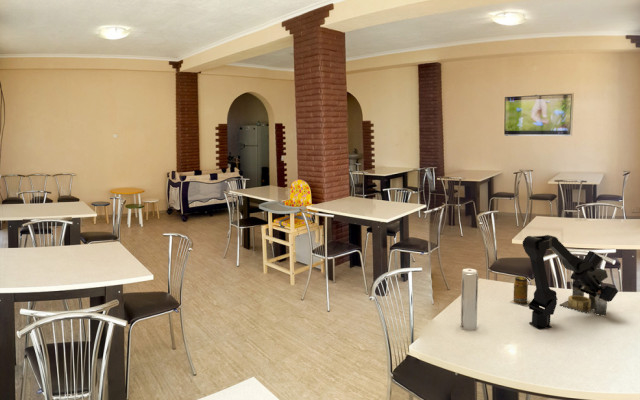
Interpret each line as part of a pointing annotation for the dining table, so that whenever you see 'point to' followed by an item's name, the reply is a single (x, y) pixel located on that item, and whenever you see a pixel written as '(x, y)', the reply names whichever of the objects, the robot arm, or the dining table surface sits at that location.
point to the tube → (600, 305)
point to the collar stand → (579, 301)
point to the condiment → (520, 291)
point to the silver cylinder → (469, 299)
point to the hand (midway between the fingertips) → (603, 298)
